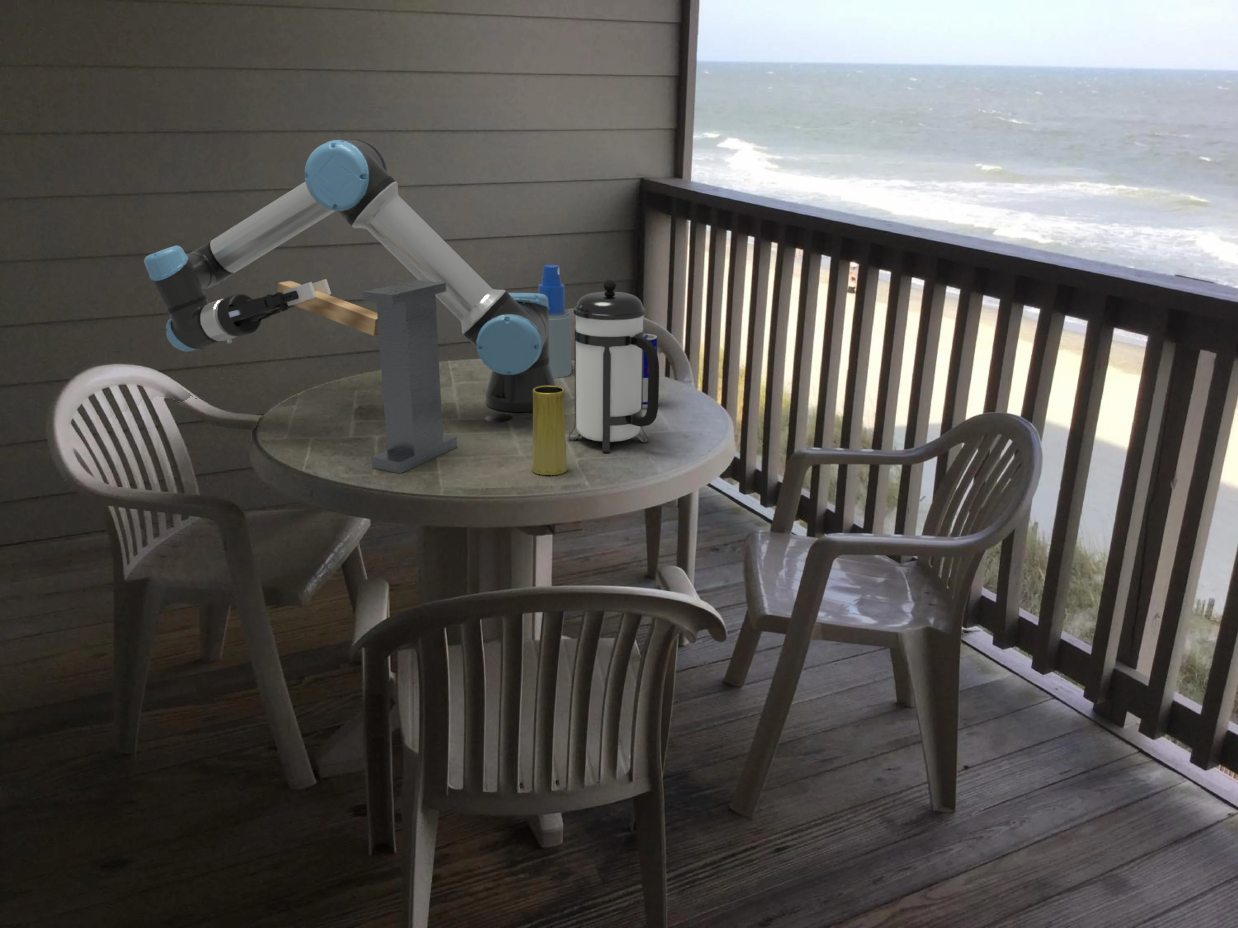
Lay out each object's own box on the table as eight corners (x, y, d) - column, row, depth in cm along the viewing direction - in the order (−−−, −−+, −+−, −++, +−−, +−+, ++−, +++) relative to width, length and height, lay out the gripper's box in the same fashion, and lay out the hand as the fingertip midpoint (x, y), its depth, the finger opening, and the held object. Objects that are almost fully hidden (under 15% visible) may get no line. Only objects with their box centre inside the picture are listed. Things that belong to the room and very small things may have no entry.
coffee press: (560, 453, 178) (558, 285, 168) (576, 426, 193) (575, 271, 183) (656, 458, 176) (660, 289, 166) (665, 431, 191) (669, 274, 181)
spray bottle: (577, 370, 235) (576, 264, 226) (563, 379, 227) (562, 269, 218) (542, 367, 237) (540, 261, 229) (527, 376, 229) (524, 267, 221)
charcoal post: (372, 467, 170) (358, 292, 160) (430, 442, 183) (421, 279, 173) (400, 473, 167) (388, 296, 157) (457, 447, 181) (449, 282, 171)
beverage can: (653, 410, 204) (655, 338, 199) (629, 408, 205) (630, 337, 200) (657, 403, 209) (659, 333, 204) (633, 402, 210) (634, 332, 205)
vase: (531, 464, 172) (530, 384, 168) (566, 463, 173) (566, 384, 168) (531, 476, 167) (530, 394, 162) (568, 475, 167) (567, 394, 162)
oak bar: (277, 299, 178) (277, 282, 177) (289, 296, 180) (290, 280, 179) (373, 336, 170) (375, 319, 169) (385, 333, 173) (386, 316, 172)
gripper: (270, 329, 194) (357, 302, 182) (204, 345, 180) (294, 316, 169) (257, 291, 193) (344, 262, 181) (190, 304, 179) (279, 273, 167)
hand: (319, 288), depth 175 cm, fingers closed on oak bar, 3 cm apart
